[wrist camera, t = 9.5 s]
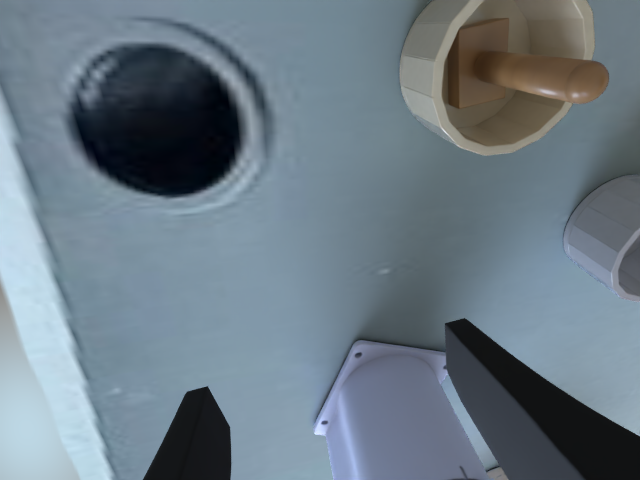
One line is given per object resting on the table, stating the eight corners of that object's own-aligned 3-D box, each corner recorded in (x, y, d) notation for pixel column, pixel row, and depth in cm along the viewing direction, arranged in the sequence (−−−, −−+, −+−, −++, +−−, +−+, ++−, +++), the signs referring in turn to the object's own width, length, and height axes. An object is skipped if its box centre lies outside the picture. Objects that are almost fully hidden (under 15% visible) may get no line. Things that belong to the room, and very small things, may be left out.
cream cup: (486, 147, 20) (532, 171, 17) (377, 111, 18) (405, 129, 15) (557, 13, 17) (629, 10, 14) (437, -46, 15) (488, -66, 12)
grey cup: (614, 273, 26) (666, 309, 23) (543, 255, 24) (588, 291, 21) (682, 189, 23) (752, 215, 20) (607, 161, 21) (671, 186, 18)
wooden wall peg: (492, 94, 18) (623, 131, 12) (448, 105, 18) (556, 148, 12) (495, 17, 16) (650, 12, 10) (446, 29, 16) (571, 31, 10)
